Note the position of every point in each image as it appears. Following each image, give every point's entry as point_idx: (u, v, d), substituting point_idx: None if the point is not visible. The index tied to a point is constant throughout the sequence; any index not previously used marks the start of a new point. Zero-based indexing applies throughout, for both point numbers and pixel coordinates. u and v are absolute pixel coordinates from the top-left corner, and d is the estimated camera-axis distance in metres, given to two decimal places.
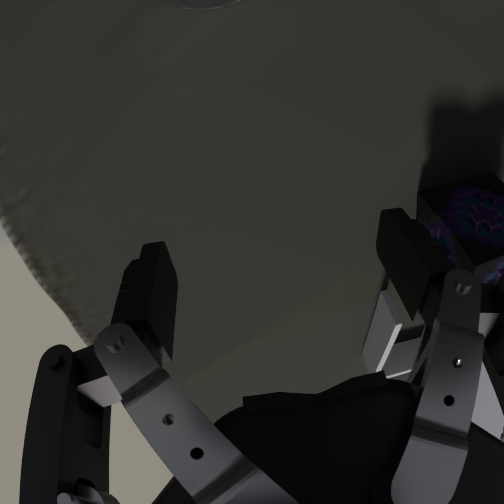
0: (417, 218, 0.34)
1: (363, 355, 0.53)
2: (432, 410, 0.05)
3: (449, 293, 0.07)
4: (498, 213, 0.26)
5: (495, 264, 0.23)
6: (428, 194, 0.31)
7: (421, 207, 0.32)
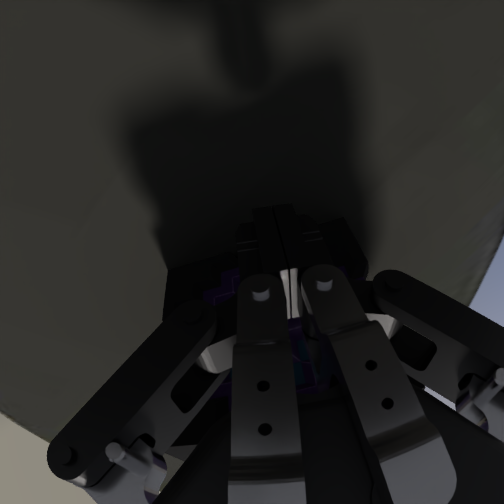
0: None
1: None
2: (379, 422, 0.05)
3: (315, 297, 0.08)
4: None
5: None
6: (180, 275, 0.20)
7: None
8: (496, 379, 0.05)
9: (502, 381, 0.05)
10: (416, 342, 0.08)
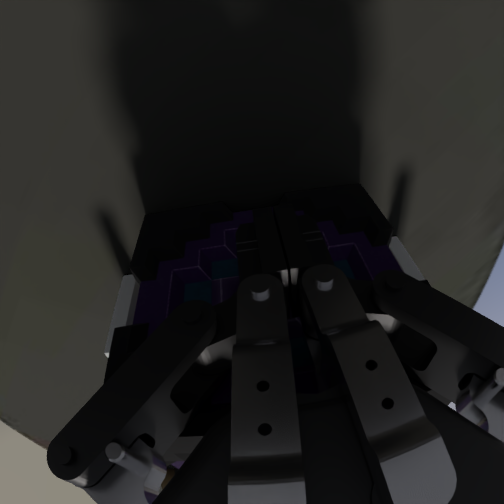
0: None
1: None
2: (379, 422, 0.05)
3: (316, 297, 0.08)
4: None
5: (192, 444, 0.08)
6: (159, 221, 0.16)
7: None
8: (496, 379, 0.05)
9: (502, 381, 0.05)
10: (416, 342, 0.08)
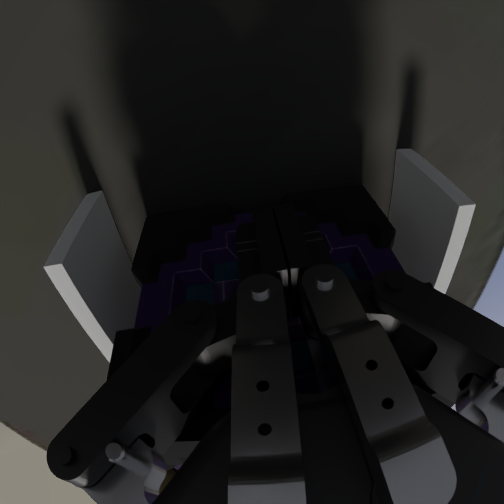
0: None
1: None
2: (379, 422, 0.05)
3: (316, 297, 0.08)
4: None
5: None
6: (160, 223, 0.16)
7: None
8: (496, 379, 0.05)
9: (502, 381, 0.05)
10: (416, 342, 0.08)
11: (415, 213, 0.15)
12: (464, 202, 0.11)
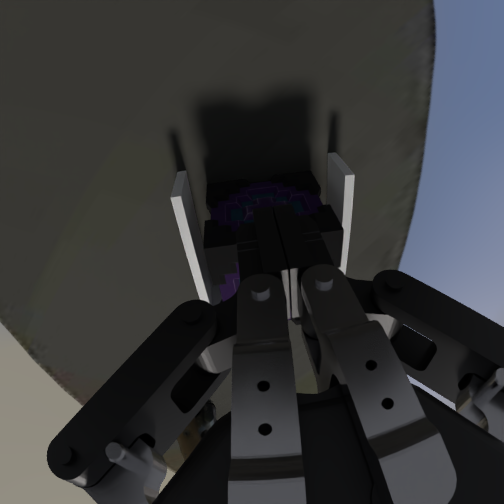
0: None
1: None
2: (379, 422, 0.05)
3: (315, 297, 0.08)
4: None
5: None
6: (215, 186, 0.35)
7: None
8: (496, 379, 0.05)
9: (502, 381, 0.05)
10: (416, 342, 0.08)
11: (334, 182, 0.34)
12: (349, 174, 0.30)
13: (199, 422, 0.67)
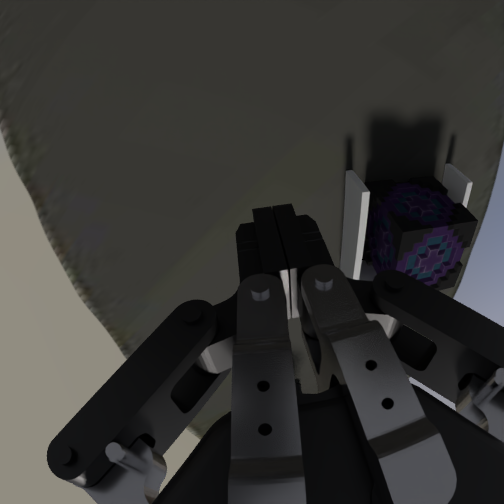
0: None
1: (341, 267, 0.51)
2: (379, 422, 0.05)
3: (315, 297, 0.08)
4: (432, 203, 0.38)
5: (422, 235, 0.34)
6: (373, 184, 0.42)
7: None
8: (496, 379, 0.05)
9: (502, 381, 0.05)
10: (416, 342, 0.08)
11: (452, 186, 0.40)
12: (469, 181, 0.36)
13: None
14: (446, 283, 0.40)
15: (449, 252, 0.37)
